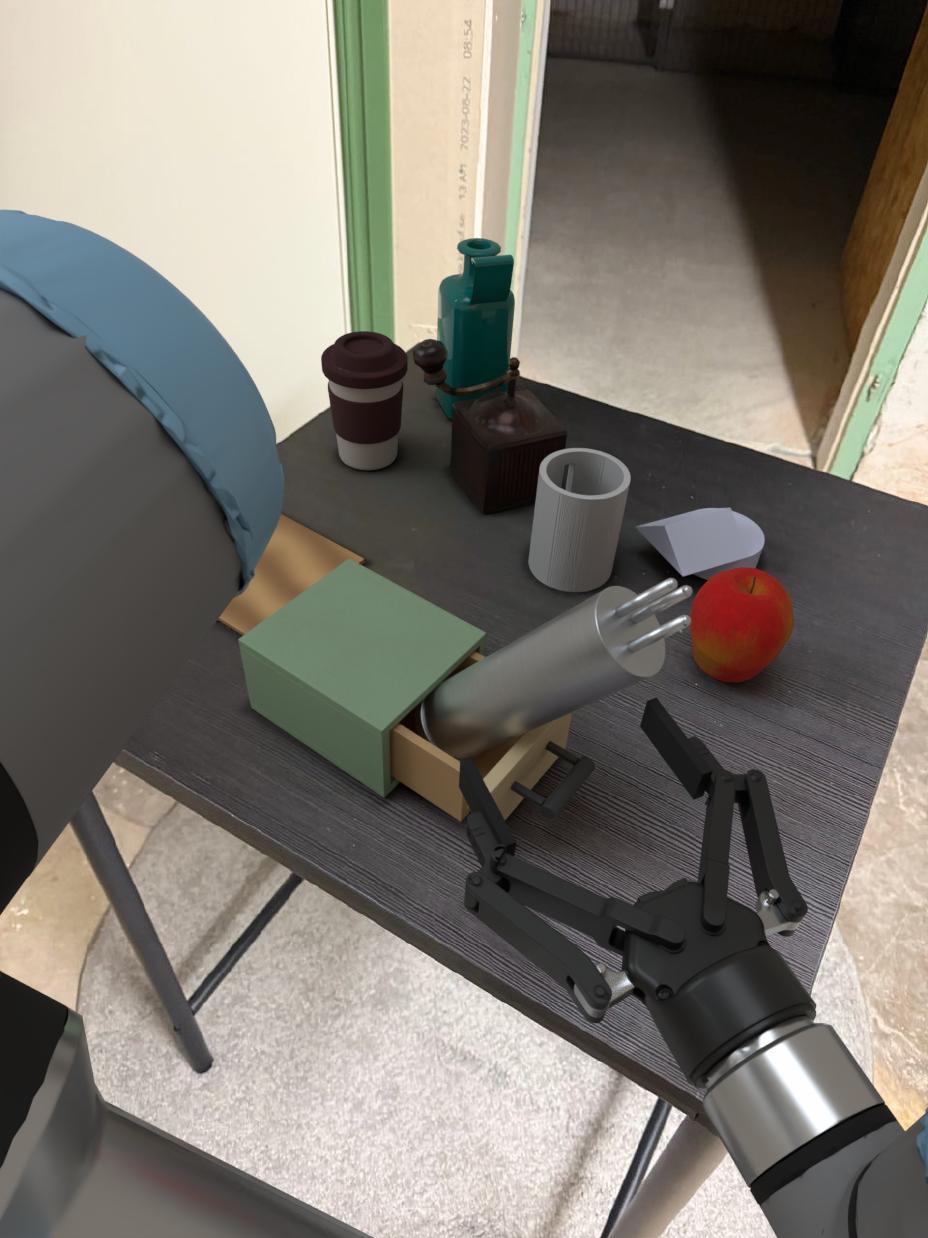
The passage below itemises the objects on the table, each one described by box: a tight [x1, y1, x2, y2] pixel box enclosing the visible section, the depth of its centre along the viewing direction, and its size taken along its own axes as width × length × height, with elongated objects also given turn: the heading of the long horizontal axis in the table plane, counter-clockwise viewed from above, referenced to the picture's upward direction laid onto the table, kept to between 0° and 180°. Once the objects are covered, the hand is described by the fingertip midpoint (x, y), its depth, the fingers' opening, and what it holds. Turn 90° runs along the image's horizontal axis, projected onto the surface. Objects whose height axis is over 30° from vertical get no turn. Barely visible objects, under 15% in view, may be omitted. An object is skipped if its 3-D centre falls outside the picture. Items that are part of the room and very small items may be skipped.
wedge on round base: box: [635, 507, 766, 581], centre depth 94 cm, size 9×7×13 cm
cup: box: [527, 447, 632, 593], centre depth 91 cm, size 9×9×12 cm
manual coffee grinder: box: [412, 338, 568, 515], centre depth 99 cm, size 16×11×18 cm
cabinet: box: [237, 559, 487, 799], centre depth 76 cm, size 16×14×9 cm
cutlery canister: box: [415, 577, 693, 761], centre depth 64 cm, size 7×7×26 cm
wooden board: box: [217, 513, 366, 637], centre depth 92 cm, size 16×13×1 cm
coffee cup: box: [320, 330, 409, 471], centre depth 104 cm, size 10×10×15 cm
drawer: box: [389, 651, 596, 823], centre depth 71 cm, size 19×13×7 cm
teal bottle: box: [435, 237, 516, 421], centre depth 111 cm, size 10×8×22 cm
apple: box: [688, 567, 795, 683], centre depth 80 cm, size 9×9×12 cm
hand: (559, 740), depth 57 cm, fingers open, 13 cm apart
